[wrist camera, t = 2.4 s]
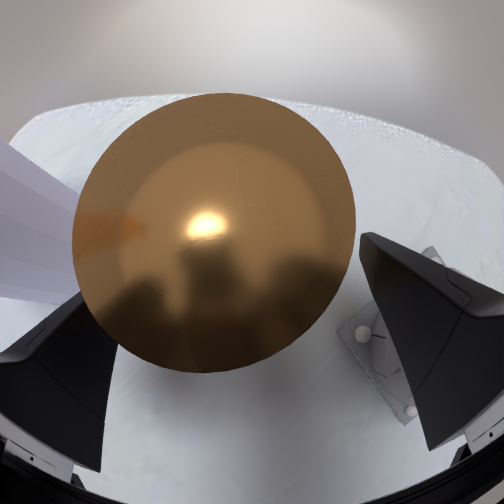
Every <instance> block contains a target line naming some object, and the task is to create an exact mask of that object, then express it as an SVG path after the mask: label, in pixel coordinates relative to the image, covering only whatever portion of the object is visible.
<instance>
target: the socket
mask: <svg viewBox="0 0 504 504" xmlns="http://www.w3.org/2000/svg"><path fill="white" fill-rule="evenodd" d="M421 255H424V256H426V257H428V258H430V259H432V260H434V261H436V262H438V263H440V264H442V265H444V266H445V267H446V265H445V264H444V262H443V261H442V259H441V257H440V256H439V254H438V253H437V251H436V250H435V248H434V247H433V246H431V247H429V248H427V249H426V250H425V251H424V252H423V253H422V254H421ZM450 269H452V270H454V271H456V272H458V273H460V274H462V275H464V276H466V275H465V274H463V273H461V272H460V271H458V270H456V269H454V268H451V267H450ZM466 277H468V276H466ZM468 278H470V277H468ZM470 279H472V278H470ZM472 280H473V279H472ZM337 332H338V333H339V335H340V336H341V337H342V339H343V340H344V342H345V343H346V344H347V346H348V347H349V349H350V350H351V351H352V353H353V354H354V356H355V357H356V359H357V360H358V361H359V363H360V364H361V366H362V367H363V368H364V370H365V371H366V373H367V374H368V376H369V377H370V378H371V380H372V381H373V383H374V384H375V386H376V387H377V388H378V390H379V391H380V393H381V394H382V396H383V397H384V399H385V400H386V402H387V403H388V404H389V406H390V407H391V409H392V410H393V412H394V413H395V415H396V416H397V418H398V419H399V421H400V422H401V423H402V424H403V425H406V424H408V423H409V422H410V421H411V420H412V419H413V418H414V417H416V416H417V415H418V411H417V408H416V405H415V402H414V399H413V395H412V392H411V389H410V387H409V384H408V381H407V378H406V375H405V373H404V370H403V367H402V364H401V362H400V359H399V357H398V354H397V351H396V349H395V346H394V344H393V341H392V339H391V336H390V334H389V332H388V329H387V327H386V325H385V322H384V320H383V318H382V315H381V313H380V311H379V309H378V306H377V304H376V302H375V300H373V301H372V302H371V303H369V304H368V305H367V306H366V307H365V308H364V309H362V310H361V311H360V312H359V313H358V314H357V315H355V316H354V317H353V318H352V319H350V320H349V321H348V322H347V323H346V324H344V325H343V326H342V327H341V328H339V329H338V330H337Z"/></svg>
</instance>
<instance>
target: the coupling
mask: <svg viewBox="0 0 504 504" xmlns="http://www.w3.org/2000/svg"><path fill="white" fill-rule="evenodd" d="M355 231H356V217H355V204H354V198H353V192H352V188H351V185H350V182H349V179H348V176H347V173H346V170H345V168H344V166H343V164H342V162H341V160H340V158H339V156H338V155H337V153H336V152H335V150H334V149H333V147H332V146H331V145H330V143H329V142H328V141H327V139H326V138H325V137H324V136H323V135H322V134H321V133H320V132H319V131H318V130H317V129H316V128H315V127H314V126H313V125H312V124H310V123H309V122H308V121H307V120H305V119H304V118H303V117H301V116H300V115H298V114H297V113H295V112H293V111H292V110H290V109H288V108H286V107H284V106H282V105H280V104H277V103H275V102H272V101H269V100H266V99H263V98H260V97H255V96H250V95H244V94H233V93H215V94H205V95H199V96H193V97H189V98H186V99H182V100H178V101H176V102H173V103H170V104H168V105H165V106H163V107H161V108H159V109H157V110H155V111H153V112H151V113H149V114H148V115H146V116H144V117H143V118H141V119H140V120H138V121H137V122H135V123H134V124H133V125H131V126H130V127H129V128H128V129H126V130H125V131H124V132H123V133H122V134H121V135H120V136H119V137H118V138H117V139H116V140H115V141H114V142H113V143H112V144H111V145H110V146H109V147H108V148H107V150H106V151H105V152H104V153H103V155H102V156H101V157H100V159H99V160H98V162H97V163H96V165H95V166H94V168H93V169H92V171H91V173H90V175H89V177H88V179H87V181H86V183H85V185H84V187H83V190H82V192H81V195H80V198H79V201H78V204H77V208H76V212H75V217H74V223H73V229H72V256H73V265H74V270H75V275H76V279H77V282H78V285H79V288H80V291H81V294H82V296H83V298H84V300H85V302H86V304H87V306H88V308H89V310H90V312H91V313H92V315H93V316H94V318H95V319H96V320H97V322H98V323H99V325H100V326H101V327H102V328H103V329H104V330H105V331H106V332H107V334H108V335H109V336H110V337H111V338H112V339H113V340H115V341H116V342H117V343H118V344H120V345H121V346H122V347H123V348H125V349H126V350H127V351H129V352H131V353H132V354H134V355H136V356H137V357H139V358H141V359H143V360H145V361H147V362H150V363H152V364H155V365H158V366H160V367H163V368H167V369H172V370H176V371H181V372H193V373H212V372H223V371H229V370H233V369H237V368H241V367H245V366H249V365H251V364H254V363H256V362H259V361H261V360H263V359H266V358H268V357H270V356H272V355H274V354H275V353H277V352H279V351H280V350H282V349H284V348H285V347H287V346H289V345H290V344H291V343H293V342H294V341H295V340H296V339H298V338H299V337H300V336H301V335H302V334H304V333H305V332H306V331H307V330H308V329H309V328H310V327H311V326H312V325H313V324H314V323H315V322H316V320H317V319H318V318H319V317H320V316H321V315H322V314H323V313H324V311H325V310H326V308H327V307H328V305H329V304H330V302H331V301H332V299H333V298H334V296H335V295H336V293H337V291H338V289H339V287H340V285H341V283H342V281H343V279H344V276H345V274H346V272H347V269H348V265H349V262H350V259H351V255H352V252H353V246H354V239H355Z"/></svg>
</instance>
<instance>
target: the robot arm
mask: <svg viewBox="0 0 504 504" xmlns="http://www.w3.org/2000/svg"><path fill="white" fill-rule="evenodd" d="M359 257H360V261H361V264H362V267H363V269H364V272H365V275H366V278H367V281H368V284H369V287H370V290H371V293H372V295H373V297H374V300H375V302H376V304H377V306H378V309H379V311H380V313H381V315H382V318H383V320H384V322H385V325H386V327H387V329H388V332H389V334H390V336H391V339H392V341H393V344H394V346H395V349H396V351H397V354H398V357H399V359H400V362H401V364H402V367H403V370H404V373H405V375H406V378H407V381H408V384H409V387H410V389H411V392H412V395H413V399H414V402H415V405H416V408H417V411H418V415H419V418H420V421H421V425H422V428H423V432H424V435H425V439H426V443H427V446H428V449H429V451H432V450H434V449H436V448H438V447H440V446H442V445H444V444H446V443H448V442H450V441H452V440H454V439H455V438H457V437H459V436H461V435H463V434H465V437H466V440H467V443H466V444H464V445H463V446H461V447H460V448H458V450H457V452H456V454H455V457H454V459H453V461H452V463H451V465H450V467H449V468H448V469H446V470H444V471H442V472H440V473H438V474H436V475H434V476H432V477H430V478H428V479H426V480H424V481H421V482H419V483H417V484H415V485H412V486H410V487H407V488H405V489H402V490H400V491H397V492H394V493H392V494H389V495H386V496H383V497H380V498H377V499H374V500H370V501H367V502H364V503H360V504H504V294H502V293H500V292H498V291H496V290H494V289H492V288H490V287H487V286H485V285H483V284H481V283H479V282H476V281H474V280H472V279H470V278H468V277H466V276H464V275H462V274H460V273H458V272H456V271H454V270H452V269H450V268H448V267H445V266H444V265H442V264H440V263H438V262H436V261H434V260H432V259H430V258H428V257H426V256H424V255H421V254H419V253H417V252H415V251H413V250H411V249H409V248H407V247H404V246H402V245H400V244H398V243H396V242H394V241H391V240H389V239H387V238H385V237H382V236H380V235H378V234H376V233H373V232H367V233H362V234H361V237H360V249H359ZM117 347H118V343H117V342H116V341H115V340H113V339H112V338H111V337H110V336H109V335H108V334H107V332H106V331H105V330H104V329H103V328H102V327H101V326H100V325H99V323H98V322H97V320H96V319H95V318H94V316H93V315H92V313H91V312H90V310H89V308H88V306H87V304H86V302H85V300H84V298H83V296H82V294H81V291H79V292H78V293H77V294H75V295H74V296H73V297H71V298H70V299H69V300H68V301H66V302H65V303H64V304H62V305H61V306H60V307H59V308H57V309H56V310H55V311H54V312H52V313H51V314H50V315H49V316H48V317H46V318H45V319H44V320H43V321H41V322H40V323H39V324H38V325H36V326H35V327H34V328H33V329H31V330H30V331H29V332H28V333H26V334H25V335H24V336H22V337H21V338H20V339H19V340H17V341H16V342H15V343H13V344H12V345H11V346H10V347H8V348H7V349H6V350H4V351H3V352H1V353H0V504H127V503H123V502H120V501H116V500H113V499H110V498H107V497H104V496H101V495H98V494H95V493H93V492H90V491H87V490H86V489H85V487H84V485H83V483H82V482H81V480H80V478H79V476H78V475H77V474H74V473H73V468H74V464H75V465H78V466H81V467H83V468H86V469H89V470H92V471H95V472H98V473H100V471H101V458H102V445H103V434H104V425H105V422H104V421H105V416H106V408H107V401H108V395H109V389H110V383H111V377H112V372H113V367H114V362H115V357H116V352H117Z"/></svg>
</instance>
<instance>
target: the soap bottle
mask: <svg viewBox="0 0 504 504" xmlns="http://www.w3.org/2000/svg"><path fill="white" fill-rule="evenodd" d="M79 198H80V195H79V194H78V193H76V192H75V191H73V190H72V189H70V188H69V187H67V186H66V185H64V184H63V183H61V182H60V181H59V180H57V179H56V178H54V177H53V176H51V175H50V174H48V173H47V172H46V171H44V170H43V169H41V168H40V167H39V166H37V165H36V164H34V163H33V162H32V161H30V160H29V159H27V158H26V157H25V156H23V155H22V154H21V153H19V152H18V151H17V150H15V149H14V148H13V147H11V146H10V145H9V144H7V143H6V142H4V141H3V140H2V139H1V138H0V297H6V298H13V299H19V300H26V301H34V302H42V303H54V304H63V303H65V302H66V301H68V300H69V299H70V298H71V297H73V296H74V295H75V294H77V293H78V292H79V291H80V288H79V285H78V282H77V279H76V275H75V270H74V265H73V256H72V229H73V223H74V217H75V212H76V208H77V204H78V201H79Z"/></svg>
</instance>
